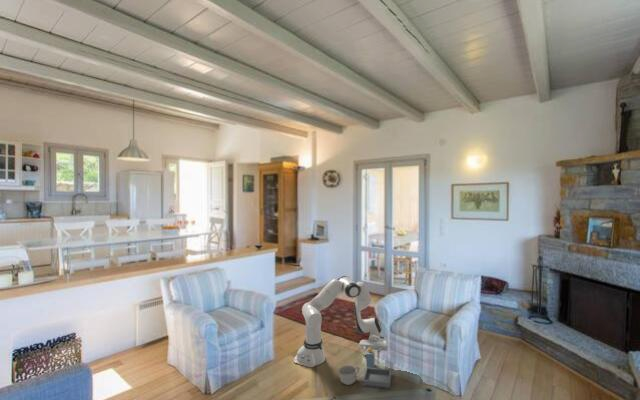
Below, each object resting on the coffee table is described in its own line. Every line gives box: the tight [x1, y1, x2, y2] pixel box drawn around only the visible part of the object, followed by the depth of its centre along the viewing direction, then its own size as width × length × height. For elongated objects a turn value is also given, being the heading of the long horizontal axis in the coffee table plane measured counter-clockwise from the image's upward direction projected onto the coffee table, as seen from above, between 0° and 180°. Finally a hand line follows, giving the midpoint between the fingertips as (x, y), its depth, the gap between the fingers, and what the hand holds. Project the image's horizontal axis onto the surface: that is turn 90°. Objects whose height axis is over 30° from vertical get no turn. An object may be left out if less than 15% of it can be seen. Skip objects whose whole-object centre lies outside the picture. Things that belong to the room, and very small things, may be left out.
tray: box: [362, 366, 393, 390], centre depth 198 cm, size 16×14×4 cm
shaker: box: [365, 349, 376, 368], centre depth 213 cm, size 5×5×10 cm
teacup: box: [338, 364, 360, 386], centre depth 199 cm, size 14×11×8 cm
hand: (372, 351), depth 222 cm, fingers open, 8 cm apart
